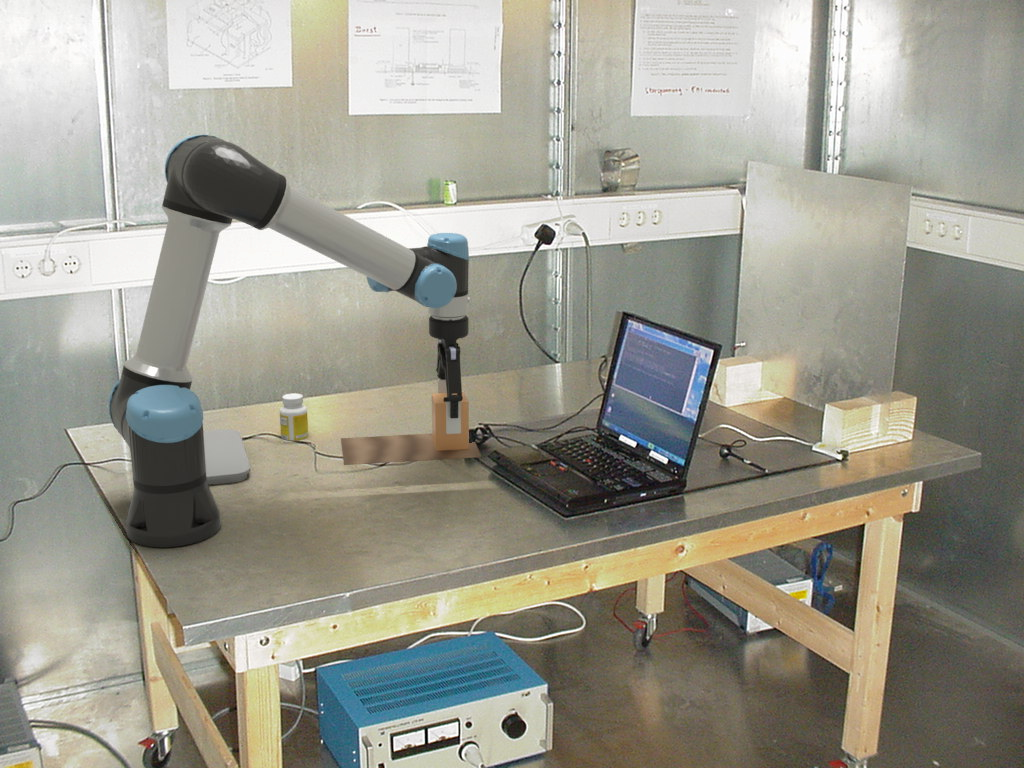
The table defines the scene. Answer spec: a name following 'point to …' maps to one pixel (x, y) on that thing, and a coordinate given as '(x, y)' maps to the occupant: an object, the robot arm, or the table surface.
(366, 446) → the walnut board
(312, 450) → the table surface
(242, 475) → the tablet
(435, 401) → the upright tan block
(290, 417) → the supplement bottle
